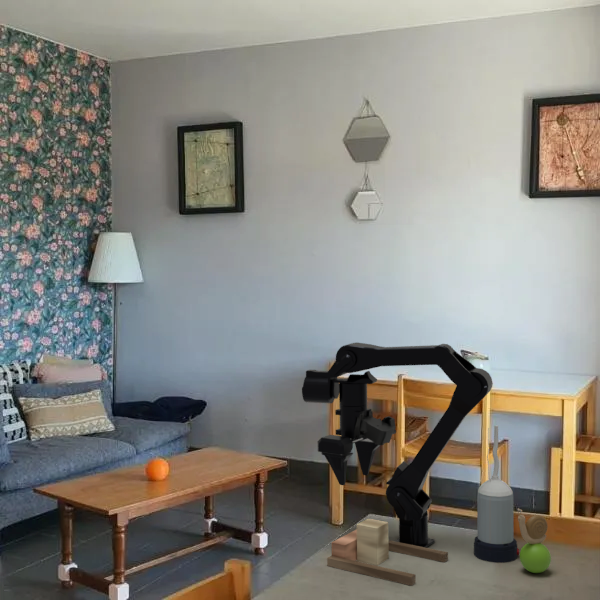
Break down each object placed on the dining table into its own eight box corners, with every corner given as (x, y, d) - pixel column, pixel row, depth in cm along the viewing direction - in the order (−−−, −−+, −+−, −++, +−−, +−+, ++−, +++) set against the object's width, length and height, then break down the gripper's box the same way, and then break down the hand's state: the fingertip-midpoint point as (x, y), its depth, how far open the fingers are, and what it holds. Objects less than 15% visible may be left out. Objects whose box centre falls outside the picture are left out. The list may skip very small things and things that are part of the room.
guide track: (367, 543, 163) (367, 523, 163) (447, 559, 153) (447, 539, 153) (327, 565, 150) (327, 544, 150) (411, 585, 140) (411, 563, 140)
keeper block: (368, 554, 157) (368, 518, 156) (388, 558, 154) (388, 522, 154) (357, 561, 153) (356, 524, 153) (377, 565, 150) (376, 528, 150)
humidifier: (526, 558, 153) (526, 427, 152) (492, 565, 150) (492, 431, 149) (498, 545, 161) (498, 420, 160) (465, 552, 157) (464, 424, 156)
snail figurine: (509, 570, 147) (508, 505, 147) (537, 564, 150) (537, 500, 149) (528, 580, 142) (528, 513, 142) (557, 574, 145) (557, 508, 144)
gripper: (364, 414, 153) (365, 496, 154) (409, 401, 168) (410, 475, 169) (315, 409, 159) (316, 488, 160) (363, 397, 175) (364, 468, 175)
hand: (354, 479), depth 166 cm, fingers open, 9 cm apart
